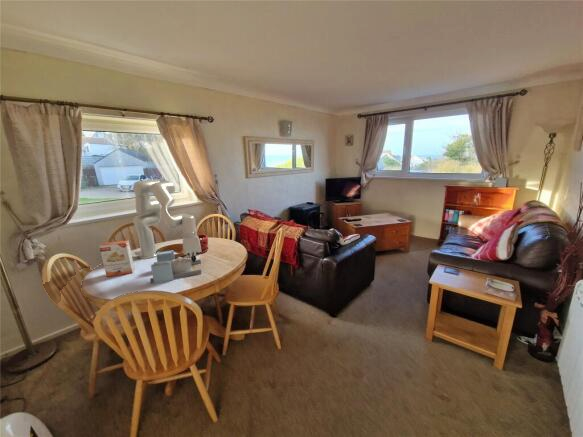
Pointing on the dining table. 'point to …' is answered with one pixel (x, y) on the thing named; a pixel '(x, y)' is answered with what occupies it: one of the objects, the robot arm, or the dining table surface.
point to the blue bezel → (163, 267)
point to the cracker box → (117, 258)
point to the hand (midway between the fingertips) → (194, 261)
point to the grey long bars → (185, 272)
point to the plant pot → (203, 243)
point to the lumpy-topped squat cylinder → (181, 265)
